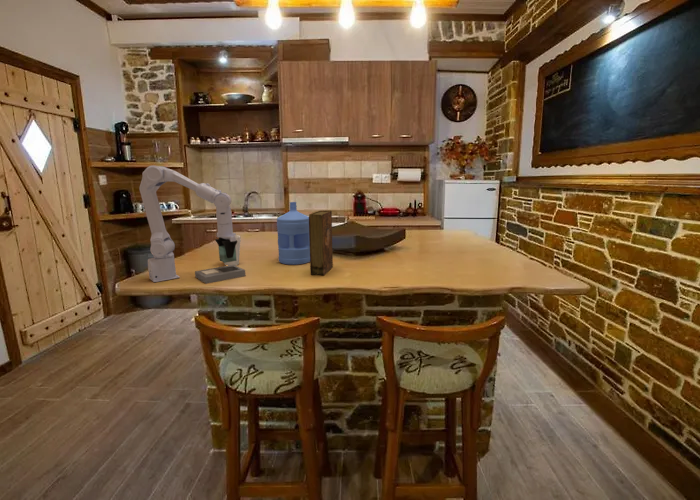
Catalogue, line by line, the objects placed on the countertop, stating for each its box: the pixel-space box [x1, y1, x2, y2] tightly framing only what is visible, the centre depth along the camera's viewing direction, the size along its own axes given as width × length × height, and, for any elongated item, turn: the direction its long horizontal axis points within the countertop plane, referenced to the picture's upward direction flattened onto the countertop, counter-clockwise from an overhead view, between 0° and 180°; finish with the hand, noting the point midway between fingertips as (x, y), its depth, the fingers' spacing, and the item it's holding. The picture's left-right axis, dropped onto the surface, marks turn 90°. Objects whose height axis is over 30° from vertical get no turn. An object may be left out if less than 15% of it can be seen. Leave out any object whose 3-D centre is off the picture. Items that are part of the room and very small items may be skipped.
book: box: [308, 210, 334, 276], centre depth 151 cm, size 16×6×25 cm, turn 168°
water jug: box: [276, 201, 310, 266], centre depth 168 cm, size 16×16×28 cm
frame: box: [194, 265, 246, 284], centre depth 146 cm, size 16×12×3 cm
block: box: [217, 245, 236, 264], centre depth 146 cm, size 5×5×6 cm
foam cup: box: [223, 234, 242, 266], centre depth 165 cm, size 10×9×13 cm
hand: (227, 256), depth 147 cm, fingers closed on block, 5 cm apart
